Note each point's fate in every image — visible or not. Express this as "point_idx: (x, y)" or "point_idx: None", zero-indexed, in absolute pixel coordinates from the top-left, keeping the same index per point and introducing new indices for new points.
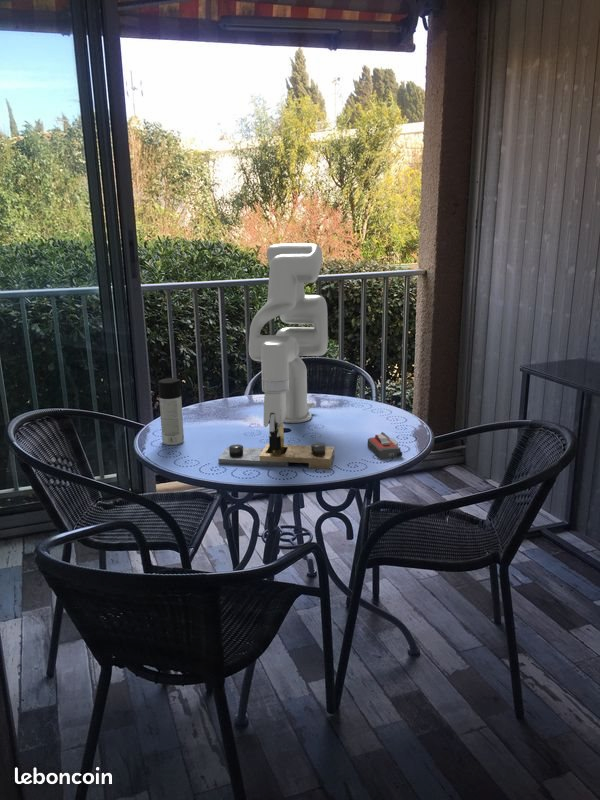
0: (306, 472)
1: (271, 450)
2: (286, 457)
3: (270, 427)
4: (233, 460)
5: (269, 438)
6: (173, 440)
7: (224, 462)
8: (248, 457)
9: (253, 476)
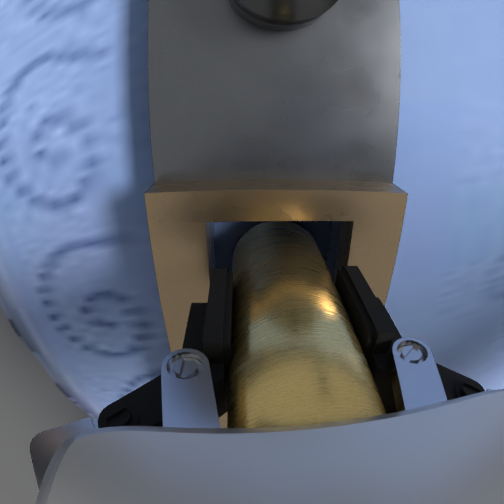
0: (148, 380)
1: (242, 263)
2: (170, 349)
3: (38, 474)
4: (151, 4)
5: (205, 327)
6: None
7: None
8: (202, 87)
9: (27, 186)
